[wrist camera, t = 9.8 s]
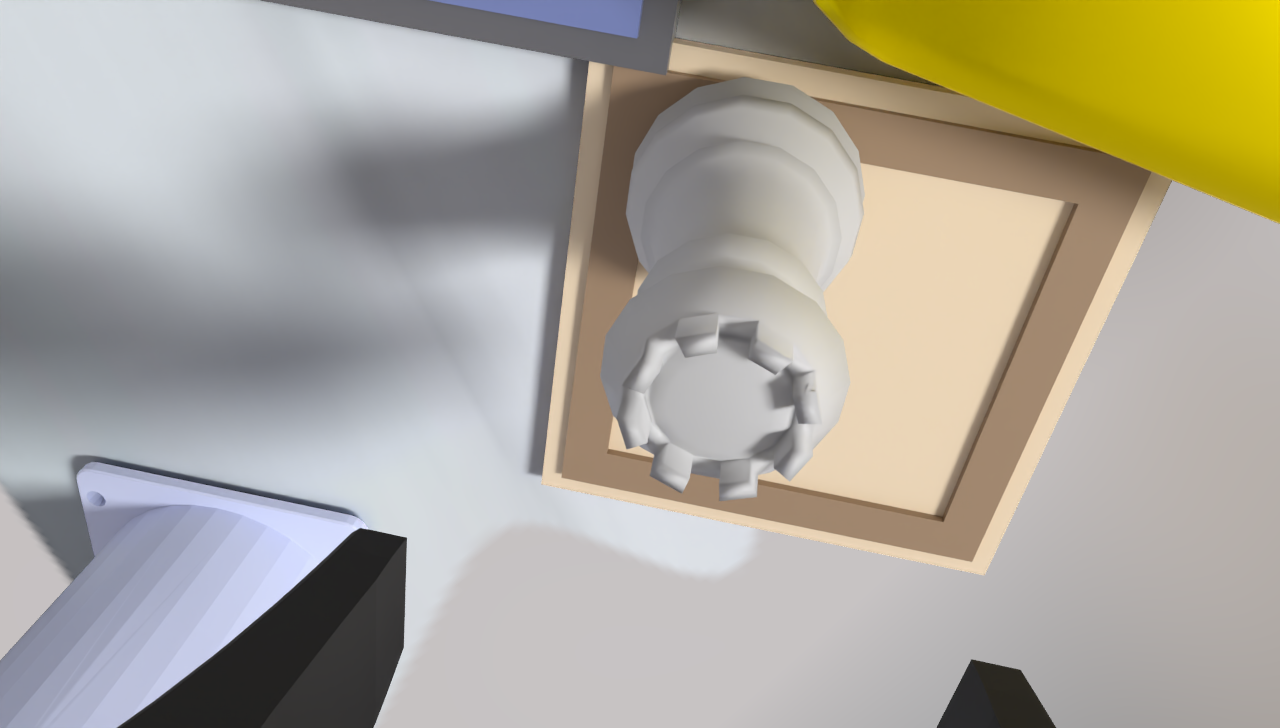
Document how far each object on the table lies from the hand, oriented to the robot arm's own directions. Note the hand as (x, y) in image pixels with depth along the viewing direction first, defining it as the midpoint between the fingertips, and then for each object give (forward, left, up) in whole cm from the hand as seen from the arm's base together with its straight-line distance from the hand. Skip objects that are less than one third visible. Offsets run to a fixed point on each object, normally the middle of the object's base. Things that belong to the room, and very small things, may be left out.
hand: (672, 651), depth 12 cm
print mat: (0, -2, -10) cm, 10 cm away
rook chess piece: (+3, 0, -9) cm, 10 cm away
